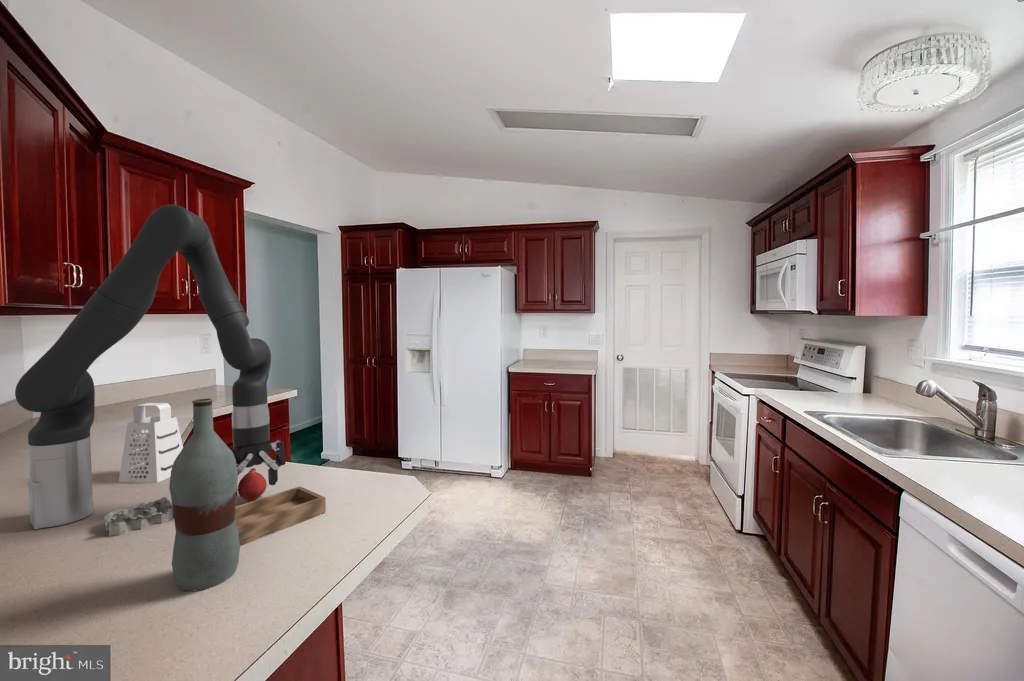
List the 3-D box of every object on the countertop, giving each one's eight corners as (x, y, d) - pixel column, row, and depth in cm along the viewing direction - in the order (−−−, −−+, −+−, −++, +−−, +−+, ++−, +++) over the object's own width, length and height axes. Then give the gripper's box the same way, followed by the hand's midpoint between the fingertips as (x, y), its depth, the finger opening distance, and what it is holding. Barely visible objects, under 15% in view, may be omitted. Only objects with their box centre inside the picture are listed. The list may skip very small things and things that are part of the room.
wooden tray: (225, 551, 80) (224, 533, 80) (202, 534, 86) (201, 517, 86) (325, 512, 96) (325, 497, 96) (300, 500, 102) (299, 486, 102)
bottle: (163, 599, 66) (157, 406, 65) (182, 568, 74) (176, 397, 73) (235, 585, 70) (230, 402, 68) (245, 556, 78) (240, 393, 77)
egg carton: (108, 540, 84) (106, 520, 84) (103, 528, 89) (102, 509, 89) (175, 521, 92) (174, 502, 92) (168, 510, 97) (167, 493, 97)
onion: (253, 508, 98) (252, 473, 98) (232, 505, 99) (231, 472, 99) (272, 497, 104) (271, 465, 104) (251, 496, 105) (251, 463, 105)
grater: (157, 482, 114) (154, 408, 113) (118, 482, 114) (115, 407, 113) (187, 469, 124) (185, 400, 123) (152, 468, 125) (150, 400, 124)
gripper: (274, 415, 109) (276, 478, 110) (209, 427, 97) (212, 496, 98) (289, 419, 105) (291, 484, 105) (223, 431, 93) (226, 504, 94)
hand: (253, 490), depth 102 cm, fingers open, 8 cm apart
